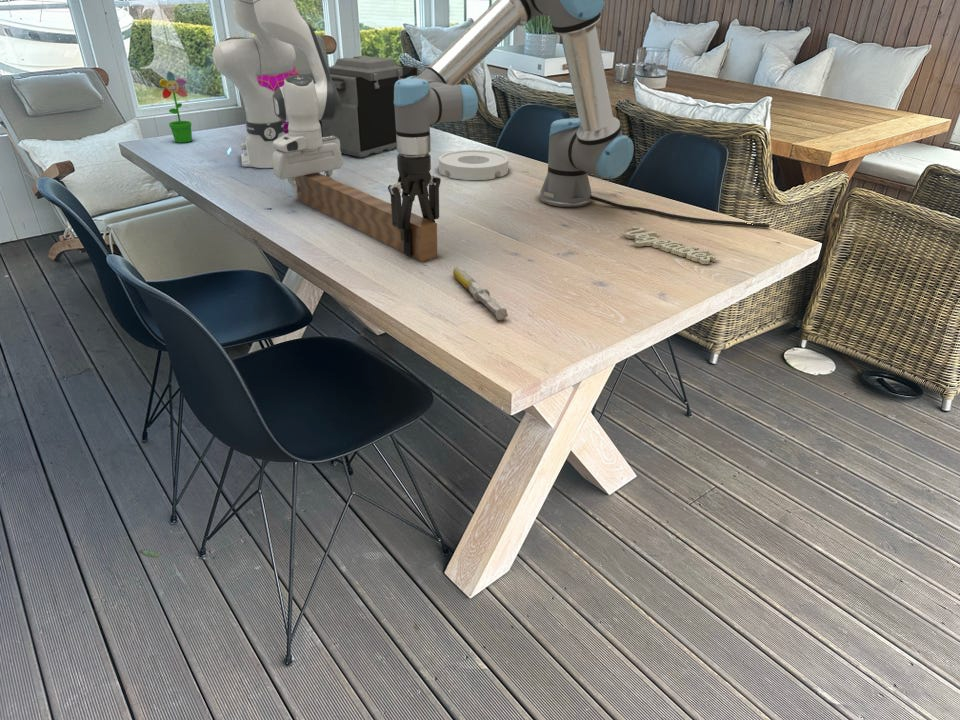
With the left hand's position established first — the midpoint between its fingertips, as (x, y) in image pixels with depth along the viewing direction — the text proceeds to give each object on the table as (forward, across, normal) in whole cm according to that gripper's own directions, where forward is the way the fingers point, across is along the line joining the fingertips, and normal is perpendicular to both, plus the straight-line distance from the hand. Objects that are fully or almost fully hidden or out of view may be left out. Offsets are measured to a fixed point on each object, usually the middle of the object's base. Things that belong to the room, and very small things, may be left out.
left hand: (311, 189), depth 196 cm
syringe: (+5, +5, +78) cm, 79 cm away
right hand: (+4, 0, +51) cm, 51 cm away
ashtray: (+4, -58, +3) cm, 59 cm away
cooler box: (+4, -51, -48) cm, 70 cm away
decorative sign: (+5, -50, +87) cm, 100 cm away
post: (+4, 0, +25) cm, 26 cm away
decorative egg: (+3, -30, -76) cm, 82 cm away
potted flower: (+3, +1, -98) cm, 98 cm away
